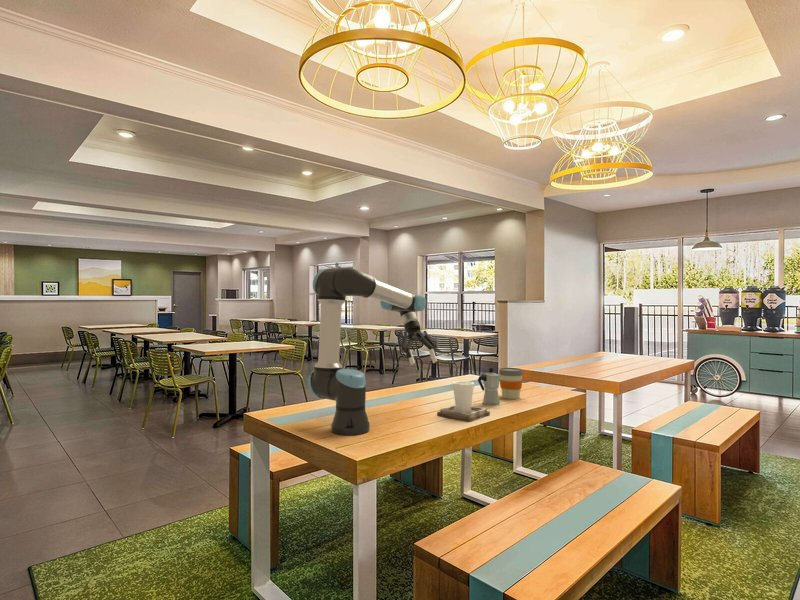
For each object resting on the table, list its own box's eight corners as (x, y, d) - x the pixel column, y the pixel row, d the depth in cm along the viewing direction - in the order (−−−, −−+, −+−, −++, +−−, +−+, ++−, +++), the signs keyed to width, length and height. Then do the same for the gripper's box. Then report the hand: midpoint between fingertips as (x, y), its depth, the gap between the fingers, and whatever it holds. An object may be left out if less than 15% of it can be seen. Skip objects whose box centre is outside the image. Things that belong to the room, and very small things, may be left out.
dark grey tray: (469, 421, 194) (469, 415, 194) (437, 415, 205) (437, 409, 205) (489, 414, 206) (490, 408, 206) (458, 409, 218) (458, 403, 218)
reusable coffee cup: (494, 396, 246) (494, 369, 247) (507, 393, 255) (507, 367, 255) (514, 400, 237) (514, 371, 237) (527, 397, 246) (527, 369, 246)
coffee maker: (494, 400, 237) (494, 365, 238) (506, 403, 230) (506, 367, 230) (472, 403, 230) (472, 367, 230) (484, 407, 222) (484, 370, 222)
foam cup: (449, 412, 204) (449, 383, 204) (456, 408, 212) (456, 380, 212) (470, 415, 199) (470, 385, 200) (476, 410, 208) (476, 382, 208)
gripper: (426, 326, 235) (439, 364, 226) (386, 327, 220) (399, 368, 211) (434, 319, 229) (448, 358, 221) (394, 319, 214) (407, 361, 206)
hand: (424, 363), depth 216 cm, fingers open, 13 cm apart
